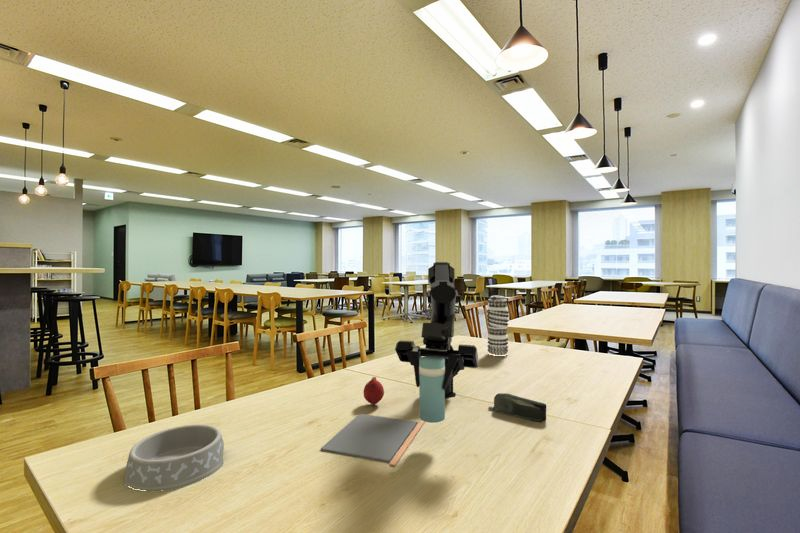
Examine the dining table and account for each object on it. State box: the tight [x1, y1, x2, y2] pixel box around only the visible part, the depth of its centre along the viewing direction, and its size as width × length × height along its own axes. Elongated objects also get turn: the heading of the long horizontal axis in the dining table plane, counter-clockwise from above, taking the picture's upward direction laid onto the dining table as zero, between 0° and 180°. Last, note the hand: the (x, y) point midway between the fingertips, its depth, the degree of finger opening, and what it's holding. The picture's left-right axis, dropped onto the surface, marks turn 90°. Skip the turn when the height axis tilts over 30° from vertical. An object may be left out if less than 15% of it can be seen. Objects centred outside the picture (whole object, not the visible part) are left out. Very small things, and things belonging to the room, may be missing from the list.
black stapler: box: [488, 392, 547, 423], centre depth 104 cm, size 5×3×15 cm
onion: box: [363, 376, 385, 406], centre depth 112 cm, size 6×6×8 cm
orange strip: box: [389, 420, 425, 467], centre depth 90 cm, size 22×1×1 cm, turn 161°
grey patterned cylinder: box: [486, 295, 509, 355], centre depth 169 cm, size 9×9×25 cm
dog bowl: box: [124, 424, 225, 492], centre depth 80 cm, size 17×18×5 cm
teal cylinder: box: [418, 356, 446, 423], centre depth 88 cm, size 6×6×13 cm
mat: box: [320, 413, 419, 463], centre depth 93 cm, size 16×20×1 cm
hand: (430, 387), depth 86 cm, fingers closed on teal cylinder, 6 cm apart
